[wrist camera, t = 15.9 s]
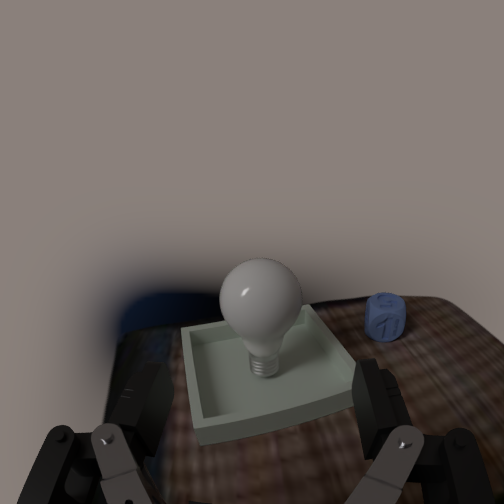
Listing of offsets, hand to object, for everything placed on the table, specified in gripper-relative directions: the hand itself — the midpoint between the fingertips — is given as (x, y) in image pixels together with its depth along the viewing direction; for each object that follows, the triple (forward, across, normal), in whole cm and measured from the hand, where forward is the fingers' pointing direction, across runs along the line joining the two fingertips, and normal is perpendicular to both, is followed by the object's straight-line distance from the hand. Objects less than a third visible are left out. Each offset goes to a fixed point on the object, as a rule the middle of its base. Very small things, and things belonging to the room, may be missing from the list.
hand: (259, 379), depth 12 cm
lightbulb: (+11, +1, +11) cm, 16 cm away
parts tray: (+11, +1, +12) cm, 16 cm away
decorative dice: (+17, -12, +12) cm, 24 cm away
